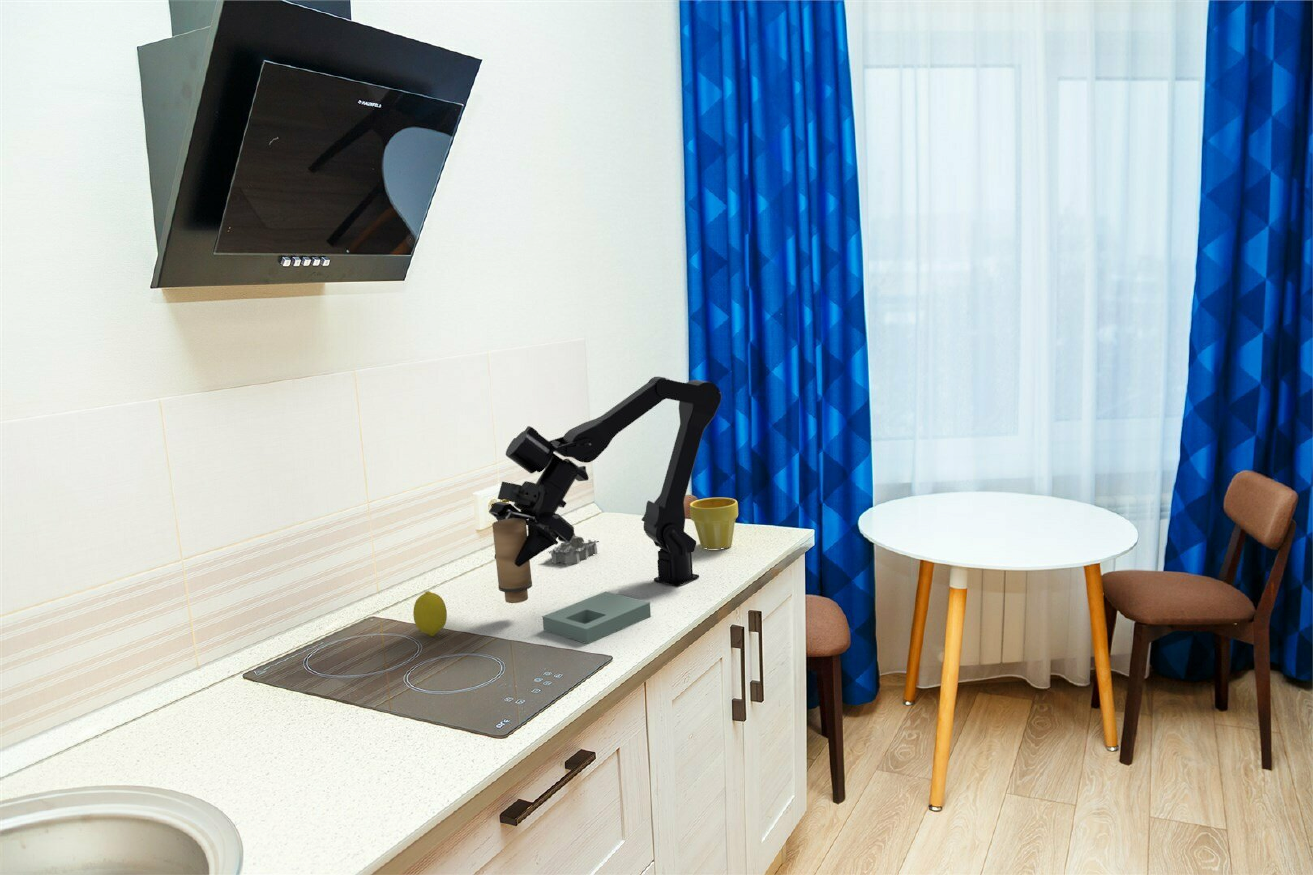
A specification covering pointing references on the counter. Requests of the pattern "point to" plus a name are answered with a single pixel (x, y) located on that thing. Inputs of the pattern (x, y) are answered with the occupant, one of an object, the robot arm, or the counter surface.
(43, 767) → the counter surface
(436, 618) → the lemon
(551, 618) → the board
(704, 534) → the plant pot
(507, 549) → the peg
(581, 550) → the egg carton
